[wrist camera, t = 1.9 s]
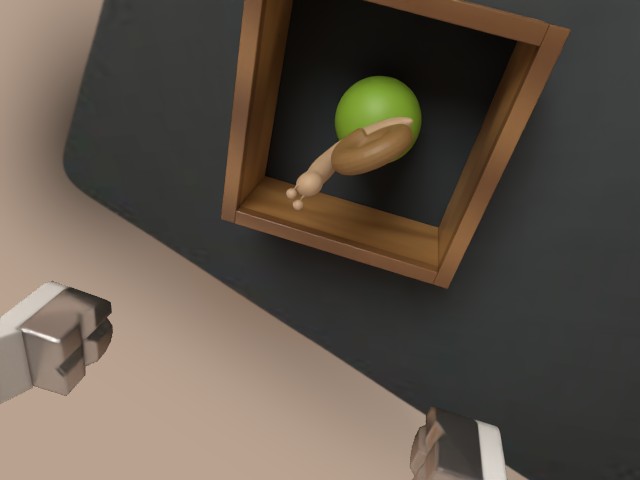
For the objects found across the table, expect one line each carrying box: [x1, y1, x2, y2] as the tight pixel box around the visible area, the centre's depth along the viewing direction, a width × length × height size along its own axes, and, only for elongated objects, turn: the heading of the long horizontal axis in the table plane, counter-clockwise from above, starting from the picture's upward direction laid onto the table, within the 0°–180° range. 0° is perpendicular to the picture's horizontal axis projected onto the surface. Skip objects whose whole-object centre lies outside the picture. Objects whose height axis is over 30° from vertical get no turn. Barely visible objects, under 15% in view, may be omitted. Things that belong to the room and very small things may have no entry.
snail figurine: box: [286, 76, 422, 210], centre depth 26 cm, size 5×6×12 cm
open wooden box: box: [221, 0, 571, 289], centre depth 28 cm, size 16×16×6 cm
